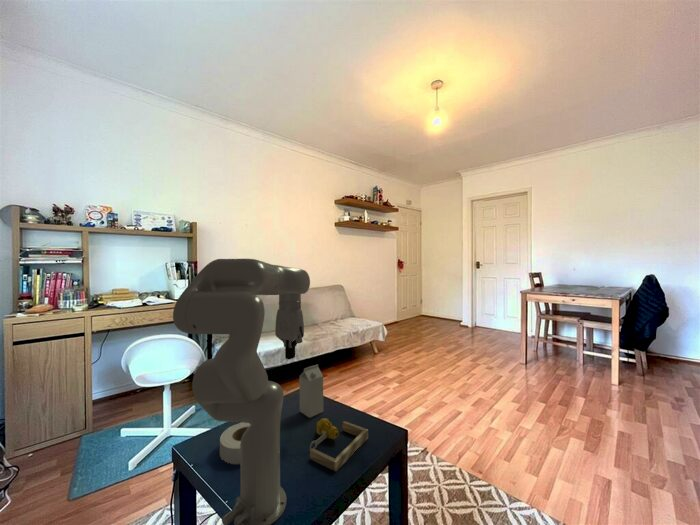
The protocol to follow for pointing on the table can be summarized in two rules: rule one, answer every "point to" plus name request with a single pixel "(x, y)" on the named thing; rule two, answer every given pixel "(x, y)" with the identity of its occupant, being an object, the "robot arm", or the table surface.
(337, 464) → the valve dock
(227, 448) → the roll of tape
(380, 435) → the table surface
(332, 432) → the pressure relief valve
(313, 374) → the milk carton
